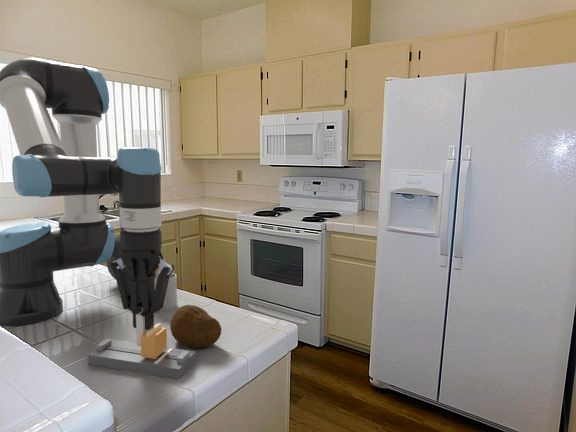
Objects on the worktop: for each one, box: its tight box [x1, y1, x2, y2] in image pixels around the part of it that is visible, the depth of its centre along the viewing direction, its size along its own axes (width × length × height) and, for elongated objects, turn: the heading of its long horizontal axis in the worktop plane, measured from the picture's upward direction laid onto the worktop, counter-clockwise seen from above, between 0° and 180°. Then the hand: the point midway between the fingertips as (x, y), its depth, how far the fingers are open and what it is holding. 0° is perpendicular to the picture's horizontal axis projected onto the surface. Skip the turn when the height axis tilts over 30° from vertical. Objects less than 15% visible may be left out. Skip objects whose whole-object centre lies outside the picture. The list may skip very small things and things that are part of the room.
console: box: [87, 338, 197, 380], centre depth 78 cm, size 20×7×3 cm, turn 77°
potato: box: [169, 304, 222, 349], centre depth 86 cm, size 8×12×9 cm
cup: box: [154, 272, 178, 312], centre depth 106 cm, size 7×10×9 cm
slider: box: [141, 322, 168, 359], centre depth 77 cm, size 3×4×5 cm
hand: (144, 343), depth 78 cm, fingers closed
